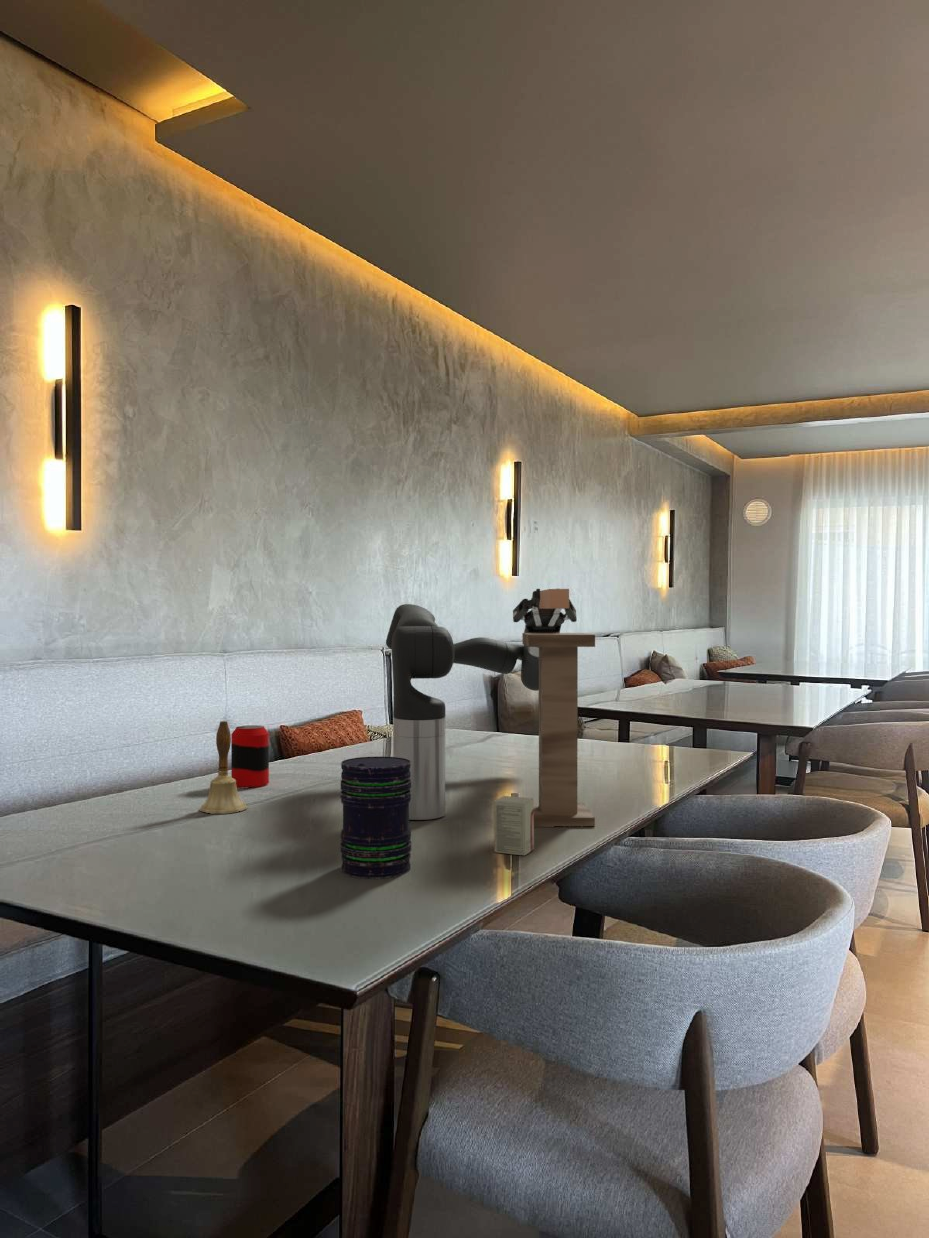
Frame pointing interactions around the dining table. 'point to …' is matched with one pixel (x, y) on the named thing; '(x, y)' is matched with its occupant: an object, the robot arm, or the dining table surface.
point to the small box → (514, 825)
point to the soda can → (250, 756)
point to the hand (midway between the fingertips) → (548, 592)
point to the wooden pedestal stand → (559, 729)
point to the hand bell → (223, 780)
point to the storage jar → (375, 817)
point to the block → (554, 598)
